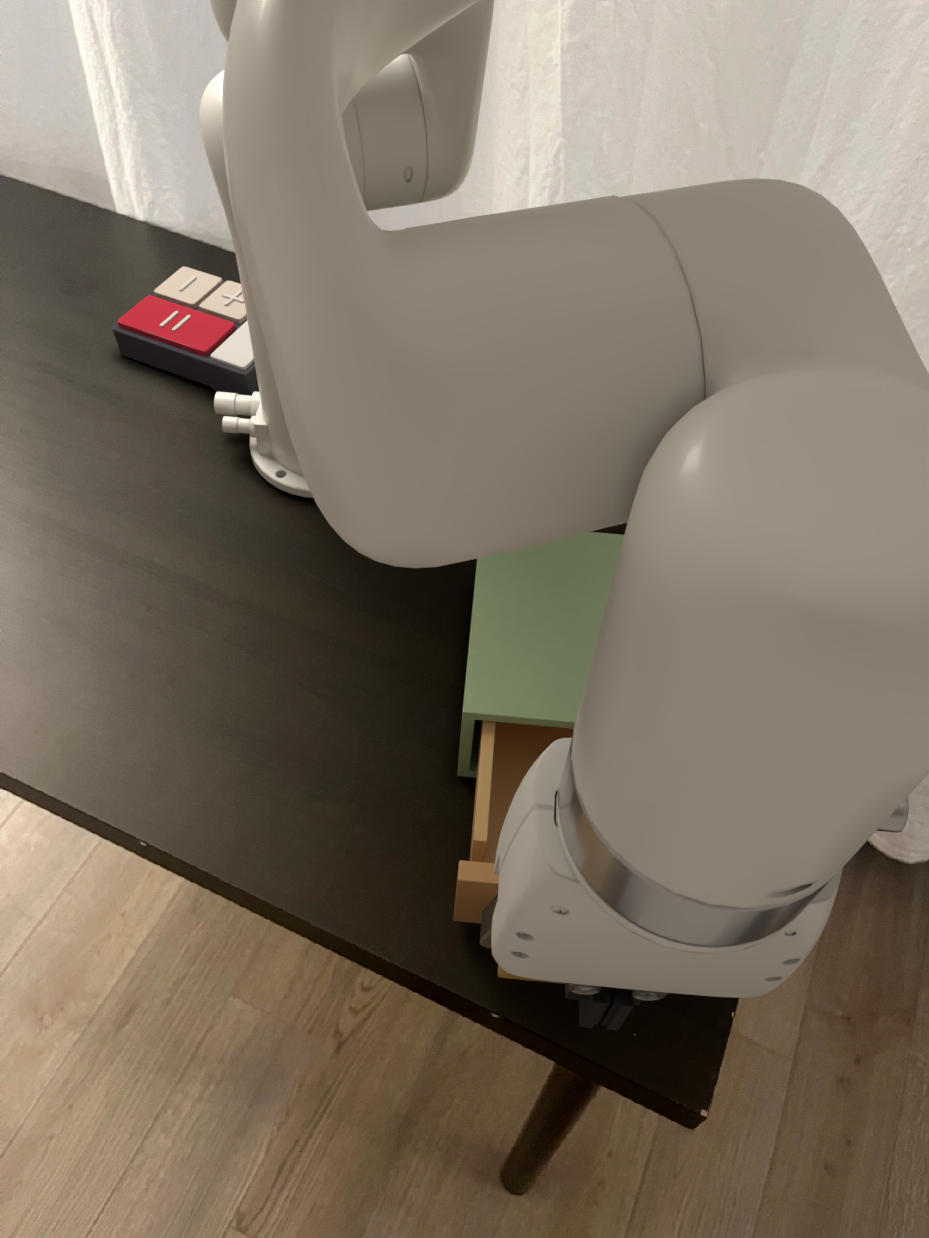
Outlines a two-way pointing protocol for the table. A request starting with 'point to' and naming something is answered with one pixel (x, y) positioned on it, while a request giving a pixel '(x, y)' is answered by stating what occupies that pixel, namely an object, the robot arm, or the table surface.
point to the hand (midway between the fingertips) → (597, 990)
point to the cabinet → (534, 634)
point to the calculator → (193, 332)
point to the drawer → (497, 809)
